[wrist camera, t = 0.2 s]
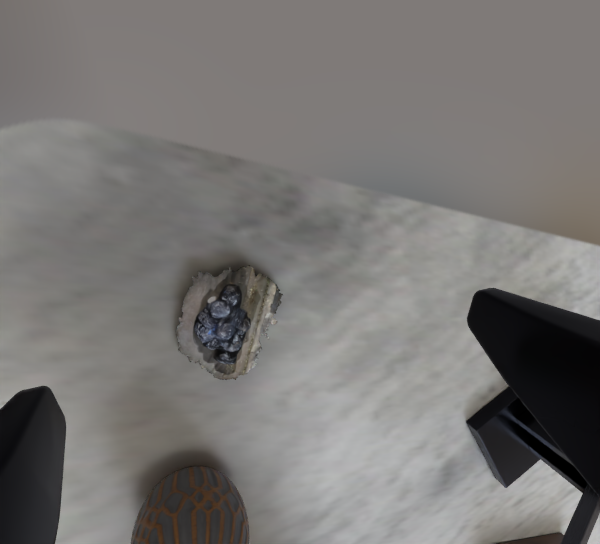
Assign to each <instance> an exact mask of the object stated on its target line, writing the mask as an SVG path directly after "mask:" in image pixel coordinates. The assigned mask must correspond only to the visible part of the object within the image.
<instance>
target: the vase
mask: <svg viewBox="0 0 600 544" xmlns="http://www.w3.org/2000/svg"><path fill="white" fill-rule="evenodd" d="M131 544H249V524H248V518H247V513H246V509H245V506H244V503H243V500H242V498H241V496H240V494H239V492H238V490H237V488H236V487H235V486H234V484H233V483H232V482H231V481H230V480H229V479H228V478H227V477H226V476H225V475H224V474H223V473H221V472H219V471H217V470H215V469H212V468H209V467H203V466H194V467H188V468H184V469H181V470H178V471H176V472H174V473H172V474H170V475H169V476H167V477H166V478H164V479H163V480H162V481H161V482H160V483H159V484H158V485H156V486H155V488H154V489H153V490H152V491H151V492H150V494H149V495H148V497H147V498H146V500H145V502H144V503H143V505H142V507H141V509H140V512H139V514H138V517H137V519H136V522H135V525H134V529H133V534H132V540H131Z"/></svg>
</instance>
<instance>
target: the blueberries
mask: <svg viewBox="0 0 600 544" xmlns="http://www.w3.org/2000/svg"><path fill="white" fill-rule="evenodd" d="M254 273H255V270H254V269H253V268H252V267H250V265H249V266H246V267H244V266H243V267H241V269H238V270H237V271H236V272H233V270H231V268H230V267H229V270H223V274H220V275H219V276H217V277H214V276H211V274H209V273H207V272H206V273H205V274H203V273H201V271H199V273H198V275H197V276H198V278H196V277H195V276H193V278H192V279H193V282H194V285H193V287H190V288H189V289H188V290H189V291H188V292H187V294H186V296H185V298H184V300H183V301H184V303H183V305H184V306H182V307H181V310H182V311H183V312H184V314H183V315H182V317H183V318H178V319H179V322H180V324H181V325H178V326H177V327H178V328H177V330H176V332H177V334H176V335H177V338H178V341H179V342H178V343H179V346H180V347H179V349H178V350H179V351H180V352H181V353H182V354H185V355H187V356H189V361H190V362H192V361H193V362H195V363H196V362H198V361H199V362H200V365H202V367H201V368H202V369H203V368H206V369H207V371H209V373H211V374H213V376H214V377H215V378H218V379H222V380H224V379H225V380H227V379H232V378H233V379H235V380H236V378H237V377H238V376H239V375H245V374H248V373H247V372H248V371H250V369H252V368H254V367H255V365H256V364H257V363H256V362H255V359H258V358H257V357H256V356H257V354H258V353H259V352H260V350H261V349H262V348H261V345H260V342H259V339H260V335H263V334H264V335H265V336H266V337H267V334H266V333H265V332H266V331H265V330H268V329H266V328H267V327H268V326H269V323H271V324H272V325H273V324H274V325H275V324H276V323H277V321H276V319H273V318H272V317H273V315H274V314H276V310H277V307H278V306H279V305H280V304H281V301H280V299H281V297H282V296H281V295H283V294H281V293H279V291H280V290H279V289H278V287H277V285H276V284H274V283H273V282H272V281H271V280H270V279H269V278H268V277H266V276H263V275H261V273H260V274H258V276H255V275H254ZM190 321H191V322H192V324H191V322H190ZM267 338H268V339H269V337H267Z"/></svg>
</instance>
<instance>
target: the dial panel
mask: <svg viewBox="0 0 600 544" xmlns="http://www.w3.org/2000/svg"><path fill="white" fill-rule="evenodd" d="M563 537H564V535H563V534H562V533H555V534H550V535H544V536H538V537H533V538H527V539H521V540H516V541H510V542H504V543H498V544H561V541H562V539H563Z"/></svg>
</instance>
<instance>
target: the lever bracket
mask: <svg viewBox="0 0 600 544" xmlns="http://www.w3.org/2000/svg"><path fill="white" fill-rule="evenodd" d="M466 423H467V424H468V426H469V428H470V430H471V432H472V434H473V436H474V438H475V440H476V442H477V444H478V445H479V447H480V449H481V451H482V453H483V455H484V457H485V459H486V461H487V463H488V465H489V466H490V468H491V470H492V472H493V474H494V476H495V478H496V479H497V480H498V481H499V482H500V483H501V484H502V485H503V486H504V487H505V488H507V487H508V486H509V485H510V484H512V483H513V482H514V481H515V480H516V479H517V478H519V477H520V476H521V475H522V474H523V473H525V472H526V471H527V470H528V469H529V468H530V467H532V466H533V465H534V464H535V463H536V462H537V461H539V460H540V459H541V460H542V461H544V462H545V463H546V464H547V465H549V466H550V467H551V468H552V469H554V470H555V471H556V472H557V473H559V474H560V475H561V476H562V477H563V478H565V479H566V480H567V481H568V482H570V483H571V484H572V485H573V486H575V487H576V488H577V489H578V490H580V491H581V492H582V493H583V492H584V490H585V488H586V486H587V481H585V479H584V478H583V476H582V475H581V474H580V473H579V472H578V470H577V469H576V468H575V467H574V465H573V464H572V463H571V462H570V460H569V459H568V458H567V457H566V456H565V454H564V453H563V452H562V451H561V449H560V448H559V447H558V446H557V444H556V443H555V442H554V441H553V440H552V438H551V437H550V436H549V435H548V433H547V432H546V431H545V430H544V428H543V427H542V426H541V425H540V424H539V422H538V421H537V420H536V419H535V417H534V416H533V415H532V414H531V412H530V411H529V410H528V409H527V408H526V406H525V405H524V404H523V403H522V401H521V400H520V399H519V398H518V396H517V395H516V394H515V393H514V392H513V390H512V389H511V388H510V387H508V388H507V389H506V390H505V391H503V392H502V393H501V394H500V395H499V396H497V397H496V398H495V399H494V400H492V401H491V402H490V403H489V404H487V405H486V406H485V407H484V408H482V409H481V410H480V411H479V412H478V413H476V414H475V415H474V416H473V417H471V418H470V419H469V420H468V421H466Z"/></svg>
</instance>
